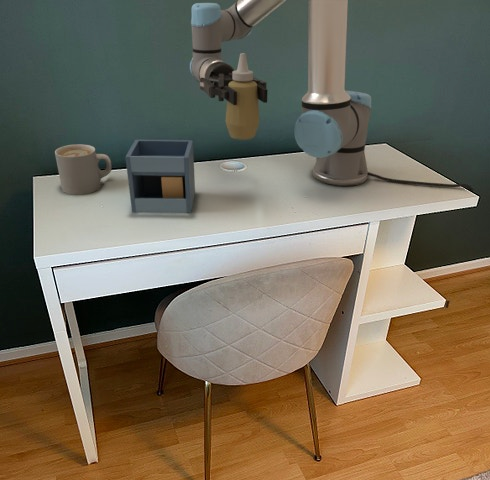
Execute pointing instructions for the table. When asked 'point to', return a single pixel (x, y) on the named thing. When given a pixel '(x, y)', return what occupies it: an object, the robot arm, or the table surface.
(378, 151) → the table surface
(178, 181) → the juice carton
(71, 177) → the coffee mug
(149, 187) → the grey storage cubby
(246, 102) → the squeeze bottle
